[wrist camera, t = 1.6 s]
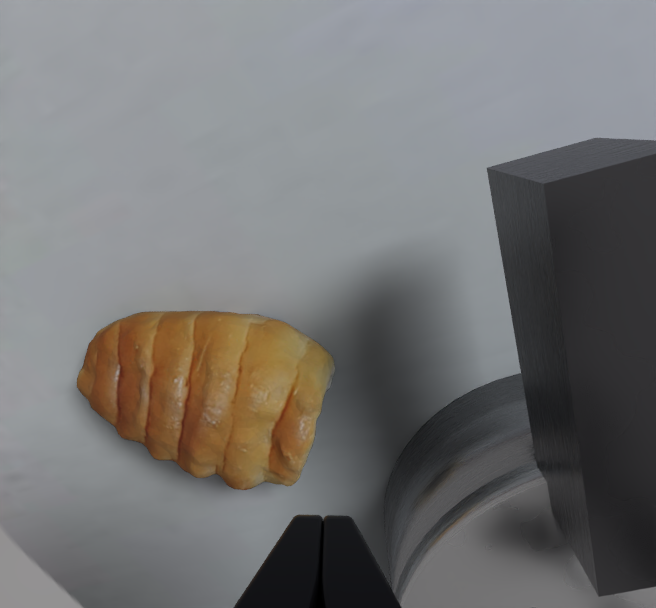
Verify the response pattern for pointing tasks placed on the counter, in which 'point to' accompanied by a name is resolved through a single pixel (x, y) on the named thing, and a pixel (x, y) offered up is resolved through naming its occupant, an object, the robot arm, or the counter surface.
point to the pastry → (211, 391)
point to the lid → (567, 396)
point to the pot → (454, 462)
